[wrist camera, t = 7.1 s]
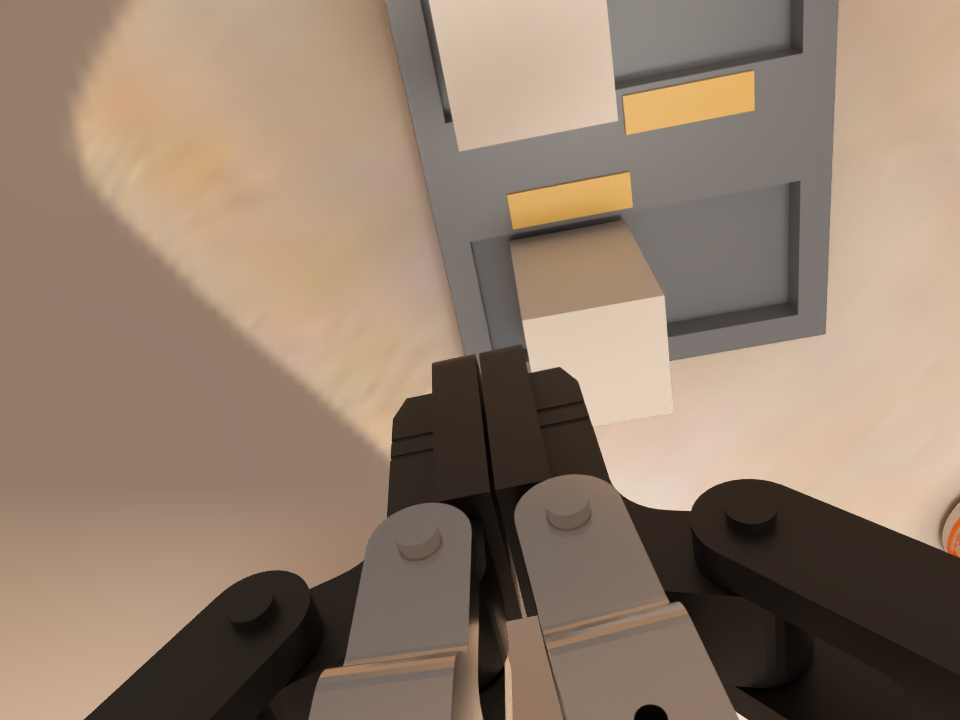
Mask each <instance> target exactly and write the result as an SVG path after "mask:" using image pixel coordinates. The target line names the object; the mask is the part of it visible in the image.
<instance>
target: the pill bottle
mask: <svg viewBox="0 0 960 720" xmlns="http://www.w3.org/2000/svg"><path fill="white" fill-rule="evenodd" d="M942 542H943V547H944V550H945V552H947V553H949V554H952V555H954V556H957V557H959V558H960V502H959V503H958V504H957V505H956V507H955V508H954V509H953V510H952V512H951V513H950V515H949V517H948V518H947V520H946V522H945V525H944V528H943V533H942Z"/></svg>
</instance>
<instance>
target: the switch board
mask: <svg viewBox="0 0 960 720" xmlns="http://www.w3.org/2000/svg"><path fill="white" fill-rule="evenodd" d="M385 4H386V8H387V13H388V17H389V22H390V26H391V30H392V35H393V39H394V44H395V48H396V52H397V57H398V61H399V66H400V70H401V75H402V79H403V83H404V88H405V92H406V97H407V101H408V106H409V110H410V114H411V119H412V123H413V128H414V132H415V137H416V141H417V145H418V150H419V154H420V159H421V163H422V167H423V172H424V176H425V181H426V185H427V190H428V194H429V198H430V203H431V207H432V212H433V216H434V221H435V225H436V229H437V234H438V238H439V243H440V247H441V252H442V256H443V260H444V265H445V269H446V274H447V278H448V282H449V287H450V291H451V296H452V300H453V305H454V309H455V313H456V318H457V322H458V327H459V331H460V336H461V340H462V344H463V349H464V353H465V356H468V355H473V354H476V357H477V360H478V364H479V368H480V359H479V353H481V352H486V351H491V350H496V349H501V348H505V347H510V346H515V345H520V344H522V347H523V352H524V356H525V361H526V365H527V370H528V373H531V368H530V362H529V357H528V351H527V346H526V340H525V335H524V329H523V323H522V318H521V311H520V305H519V299H518V293H517V287H516V280H515V274H514V268H513V262H512V256H511V250H510V243H509V241H512V240H517V239H522V238H528V237H533V236H539V235H544V234H549V233H555V232H560V231H566V230H571V229H576V228H582V227H587V226H593V225H598V224H603V223H609V222H614V221H620V220H625V222H626V224H627V226H628V227H629V229H630V231H631V233H632V235H633V237H634V239H635V241H636V243H637V244H638V246H639V248H640V250H641V252H642V254H643V256H644V258H645V260H646V261H647V263H648V265H649V267H650V269H651V271H652V273H653V275H654V277H655V278H656V280H657V282H658V284H659V286H660V288H661V290H662V292H663V293H664V296H665V309H666V322H667V335H668V348H669V361H672V360H678V359H684V358H690V357H695V356H701V355H707V354H713V353H719V352H724V351H730V350H736V349H742V348H748V347H753V346H759V345H765V344H771V343H777V342H782V341H788V340H794V339H800V338H806V337H811V336H817V335H823V334H826V309H827V282H828V256H829V230H830V204H831V178H832V151H833V125H834V99H835V73H836V46H837V20H838V0H607V10H608V20H609V30H610V40H611V51H612V61H613V71H614V82H615V92H616V102H617V113H618V121H615V122H610V123H605V124H599V125H594V126H589V127H584V128H579V129H574V130H568V131H563V132H558V133H553V134H548V135H543V136H537V137H532V138H527V139H522V140H517V141H512V142H506V143H501V144H496V145H491V146H486V147H481V148H476V149H470V150H465V151H460V152H459V149H458V144H457V139H456V134H455V129H454V124H453V119H452V114H451V109H450V104H449V99H448V94H447V89H446V84H445V79H444V74H443V69H442V64H441V59H440V54H439V49H438V44H437V39H436V34H435V29H434V24H433V19H432V14H431V10H430V5H429V0H385ZM480 372H481V368H480Z"/></svg>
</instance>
